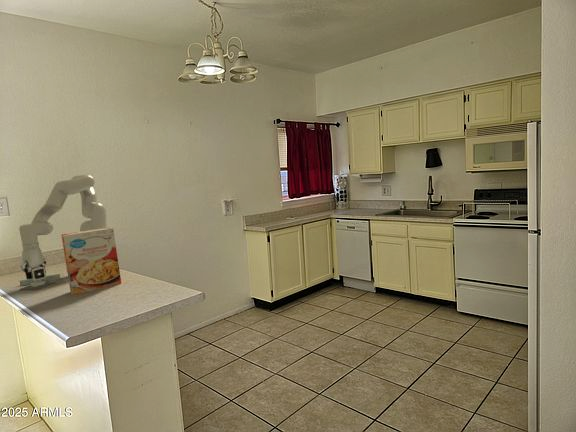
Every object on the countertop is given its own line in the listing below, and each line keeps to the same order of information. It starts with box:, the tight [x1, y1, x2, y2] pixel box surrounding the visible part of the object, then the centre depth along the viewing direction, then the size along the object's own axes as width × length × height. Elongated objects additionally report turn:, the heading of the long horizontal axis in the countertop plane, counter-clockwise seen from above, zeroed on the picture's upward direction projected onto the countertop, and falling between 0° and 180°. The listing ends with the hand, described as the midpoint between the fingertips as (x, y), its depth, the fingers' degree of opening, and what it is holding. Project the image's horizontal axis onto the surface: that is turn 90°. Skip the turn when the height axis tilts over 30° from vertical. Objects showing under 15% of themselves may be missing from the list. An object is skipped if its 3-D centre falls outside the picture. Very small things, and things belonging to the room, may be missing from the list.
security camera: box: [29, 266, 47, 287], centre depth 216 cm, size 6×7×10 cm
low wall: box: [19, 273, 61, 287], centre depth 225 cm, size 20×1×3 cm, turn 114°
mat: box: [18, 281, 56, 291], centre depth 216 cm, size 12×12×1 cm
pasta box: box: [61, 226, 122, 296], centre depth 200 cm, size 23×8×30 cm, turn 127°
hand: (36, 276), depth 216 cm, fingers open, 9 cm apart
